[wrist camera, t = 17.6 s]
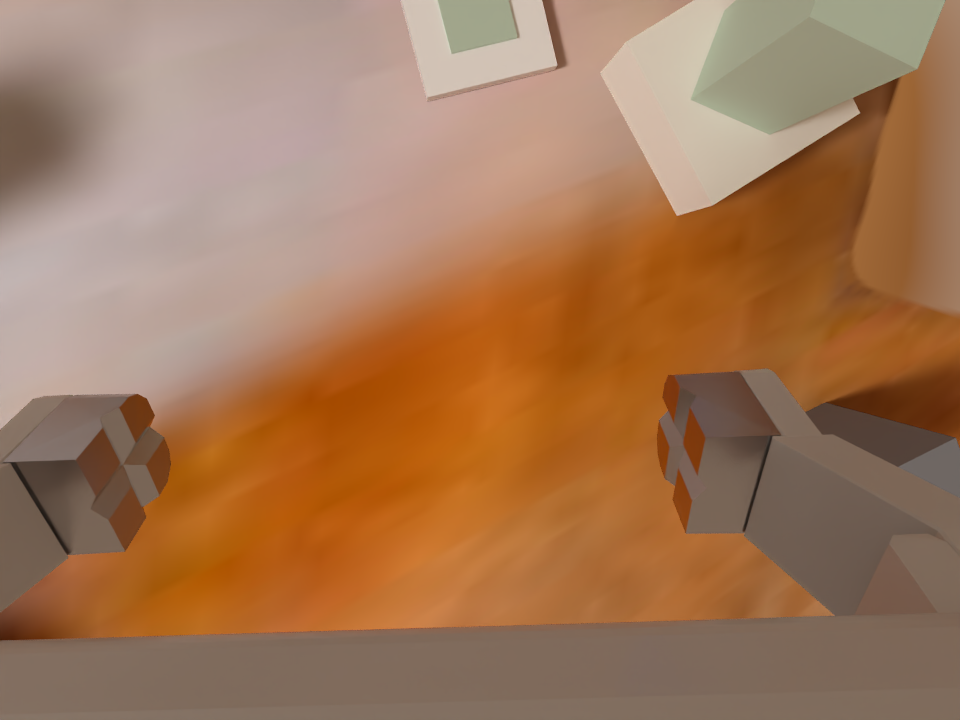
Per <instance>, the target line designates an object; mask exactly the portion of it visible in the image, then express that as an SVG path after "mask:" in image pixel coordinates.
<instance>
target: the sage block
mask: <svg viewBox="0 0 960 720" xmlns="http://www.w3.org/2000/svg"><path fill="white" fill-rule="evenodd" d="M944 3H945V0H735V1H734V2H733V3H732V4H731V5H730V6H729V7H728V8H727V9H726V10H724V13H723V16H722V18H721V21H720V23H719V26H718V29H717V31H716V34H715V37H714V39H713V42H712V44H711V47H710V50H709V52H708V55H707V58H706V60H705V63H704V66H703V68H702V71H701V73H700V76H699V79H698V81H697V84H696V87H695V89H694V92H693V94H692V97H691V100H693V101H695V102H697V103H699V104H702V105H704V106H706V107H708V108H711V109H713V110H715V111H717V112H720V113H722V114H724V115H726V116H729V117H731V118H733V119H735V120H738V121H740V122H742V123H744V124H747V125H749V126H751V127H753V128H756V129H758V130H760V131H762V132H765V133H767V134H769V135H770V134H772V133H774V132H777V131H779V130H781V129H783V128H786V127H788V126H790V125H792V124H795V123H797V122H799V121H801V120H804V119H806V118H808V117H811V116H813V115H815V114H817V113H820V112H822V111H824V110H826V109H829V108H831V107H833V106H835V105H838V104H840V103H842V102H844V101H847V100H849V99H851V98H853V97H856V96H858V95H860V94H862V93H865V92H867V91H869V90H871V89H874V88H876V87H878V86H880V85H883V84H885V83H887V82H890V81H892V80H894V79H896V78H899V77H901V76H903V75H905V74H908V73H910V72H912V71H914V70H917V69H918V67H919V65H920V62H921V59H922V57H923V55H924V52H925V50H926V47H927V45H928V42H929V40H930V37H931V35H932V32H933V30H934V27H935V25H936V22H937V20H938V18H939V15H940V13H941V10H942V8H943V5H944Z"/></svg>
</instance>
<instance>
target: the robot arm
mask: <svg viewBox="0 0 960 720" xmlns="http://www.w3.org/2000/svg"><path fill="white" fill-rule="evenodd" d="M663 400H664V402H665V404H666V406H667V409H668V411H667V413H666V414H665V415H664V416H663V417H662V418H661V419H660V420H659V424H658V433H657V448H658V457H659V462H660V467H661V469H662V472H663V475H664V478H665V479H666V480H668V481H669V482H670V483H672V484H673V485H674V486H675V489H674V495H673V502H674V504H675V507H676V510H677V512H678V515H679V517H680V520H681V523H682V525H683V528H684V530H685V533H686V534H692V533H745V534H744V536H745V537H746V538H747V539H748V540H749V541H750V542H752V543H753V544H754V545H755V546H756V547H757V548H758V549H760V550H761V551H762V552H763V553H764V554H765V555H766V556H768V557H769V558H770V559H771V560H772V561H773V562H774V563H776V564H777V565H778V566H779V567H780V568H781V569H782V570H784V571H785V572H786V573H787V574H788V575H789V576H790V577H792V578H793V579H794V580H795V581H796V582H797V583H798V584H800V585H801V586H802V587H803V588H804V589H805V590H806V591H808V592H809V593H810V594H811V595H812V596H813V597H814V598H816V599H817V600H818V601H819V602H820V603H821V604H822V605H824V606H825V607H826V608H827V609H828V610H829V611H830V612H832V613H833V614H834V615H835V616H814V617H780V618H747V619H715V620H683V621H650V622H616V623H581V624H546V625H511V626H477V627H442V628H408V629H375V630H342V631H309V632H275V633H242V634H209V635H176V636H142V637H109V638H75V639H42V640H9V641H0V720H960V498H958V497H956V496H954V495H952V494H951V493H949V492H947V491H945V490H943V489H941V488H939V487H937V486H935V485H933V484H931V483H929V482H927V481H925V480H923V479H921V478H919V477H917V476H915V475H913V474H911V473H909V472H907V471H905V470H903V469H901V468H899V467H897V466H895V465H893V464H891V463H889V462H887V461H885V460H883V459H881V458H879V457H877V456H875V455H873V454H871V453H869V452H867V451H865V450H863V449H861V448H859V447H857V446H855V445H853V444H851V443H849V442H847V441H845V440H843V439H841V438H839V437H837V436H835V435H833V434H830V435H822V434H821V432H820V431H819V430H818V429H817V427H816V426H815V425H814V423H813V422H812V421H811V419H810V418H809V417H808V416H807V414H806V413H805V412H804V410H803V409H802V408H801V406H800V405H799V404H798V403H797V401H796V400H795V399H794V397H793V396H792V395H791V393H790V392H789V391H788V389H787V388H786V387H785V386H784V384H783V383H782V382H781V380H780V379H779V378H778V376H777V375H776V374H775V373H774V372H773V371H771V370H769V369H757V370H742V371H734V372H719V373H700V374H680V375H668V377H667V379H666V382H665V385H664V391H663ZM154 416H155V415H154V413H153V411H152V409H151V407H150V404H149V402H148V400H147V399H146V398H144V397H142V396H140V395H138V394H100V395H74V396H73V395H57V396H43V397H39V398H35V399H33V400H31V401H30V402H29V403H28V404H27V405H26V406H25V407H24V408H23V409H22V410H21V411H20V412H19V413H18V414H17V415H15V416H14V417H13V418H12V419H11V420H10V421H9V422H8V423H7V424H6V425H5V426H4V427H3V428H2V429H1V430H0V612H1V611H3V610H4V609H5V608H6V607H8V606H9V605H10V604H11V603H13V602H14V601H15V600H16V599H18V598H19V597H20V596H21V595H23V594H24V593H25V592H26V591H28V590H29V589H30V588H31V587H33V586H34V585H35V584H36V583H38V582H39V581H40V580H41V579H43V578H44V577H45V576H46V575H48V574H49V573H50V572H51V571H53V570H54V569H55V568H56V567H58V566H59V565H60V564H61V563H63V562H64V561H65V560H66V559H68V555H77V554H93V553H110V552H125V551H126V549H127V548H128V546H129V545H130V543H131V541H132V540H133V538H134V536H135V535H136V533H137V532H138V530H139V528H140V527H141V525H142V523H143V522H144V520H145V519H146V515H145V512H144V508H143V507H144V506H145V505H146V504H148V503H149V502H151V501H152V500H154V499H155V498H157V497H158V496H160V494H161V492H162V490H163V489H164V487H165V485H166V483H167V482H168V476H169V471H170V466H171V461H170V453H169V449H168V446H167V444H166V441H165V439H164V437H163V436H161V435H160V434H159V433H157V432H156V431H155V430H153V429H152V428H151V427H150V425H151V423H152V421H153V419H154Z"/></svg>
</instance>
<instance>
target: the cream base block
mask: <svg viewBox="0 0 960 720" xmlns="http://www.w3.org/2000/svg"><path fill="white" fill-rule="evenodd" d="M734 1H735V0H694V1H692V2H690V3H689V4H687V5H685V6H684V7H682V8H681V9H679V10H677V11H676V12H674V13H672V14H671V15H669V16H668V17H666V18H664V19H663V20H661V21H659V22H658V23H656V24H654V25H653V26H651V27H650V28H648V29H646V30H645V31H643V32H641V33H640V34H638V35H637V36H635V37H633V38H632V39H630V40H628V41H627V42H626V43H625V44H624V45H623V46H622V47H621V49H620V50H619V51H618V52H617V53H616V55H615V56H614V57H613V58H612V59H611V61H610V62H609V63H608V64H607V65H606V67H605V68H604V69H603V70H602V71H601V73H600V74H601V76H602V77H603V79H604V81H605V83H606V85H607V87H608V89H609V90H610V92H611V94H612V96H613V98H614V100H615V102H616V103H617V105H618V107H619V109H620V111H621V113H622V115H623V116H624V118H625V120H626V122H627V124H628V126H629V128H630V129H631V131H632V133H633V135H634V137H635V139H636V141H637V142H638V144H639V146H640V148H641V150H642V152H643V154H644V155H645V157H646V159H647V161H648V163H649V165H650V167H651V168H652V170H653V172H654V174H655V176H656V178H657V180H658V181H659V183H660V185H661V187H662V189H663V191H664V193H665V195H666V196H667V198H668V200H669V202H670V204H671V206H672V208H673V209H674V211H675V213H676V215H677V216H678V215H681V214H685V213H688V212H692V211H695V210H699V209H702V208H706V207H709V206H712V205H714V204H716V203H717V202H719V201H720V200H722V199H724V198H725V197H727V196H728V195H730V194H732V193H733V192H735V191H736V190H738V189H740V188H741V187H743V186H744V185H746V184H748V183H749V182H751V181H752V180H754V179H756V178H757V177H759V176H760V175H762V174H764V173H765V172H767V171H768V170H770V169H772V168H773V167H775V166H776V165H778V164H780V163H781V162H783V161H784V160H786V159H788V158H789V157H791V156H792V155H794V154H796V153H797V152H799V151H800V150H802V149H804V148H805V147H807V146H808V145H810V144H812V143H813V142H815V141H816V140H818V139H820V138H821V137H823V136H824V135H826V134H828V133H829V132H831V131H832V130H834V129H836V128H837V127H839V126H840V125H842V124H844V123H845V122H847V121H848V120H850V119H852V118H853V117H855V116H856V115H858V114H860V112H859V110H858V108H857V106H856V103H855V101H854V99H853V98H851V99H849V100H847V101H844V102H842V103H840V104H838V105H835V106H833V107H831V108H829V109H826V110H824V111H822V112H820V113H817V114H815V115H813V116H811V117H808V118H806V119H804V120H801V121H799V122H797V123H795V124H792V125H790V126H788V127H786V128H783V129H781V130H779V131H777V132H774V133H772V134H770V135H769V134H767V133H765V132H762V131H760V130H758V129H756V128H753V127H751V126H749V125H747V124H744V123H742V122H740V121H738V120H735V119H733V118H731V117H729V116H726V115H724V114H722V113H720V112H717V111H715V110H713V109H711V108H708V107H706V106H704V105H702V104H699V103H697V102H695V101H693V100H691V97H692V94H693V92H694V89H695V87H696V84H697V81H698V79H699V76H700V73H701V71H702V68H703V66H704V63H705V60H706V58H707V55H708V52H709V50H710V47H711V44H712V42H713V39H714V37H715V34H716V31H717V29H718V26H719V23H720V21H721V18H722V16H723V13H724V10H726V9H727V8H728V7H729V6H730V5H731V4H732V3H733V2H734Z"/></svg>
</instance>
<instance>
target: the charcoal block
mask: <svg viewBox="0 0 960 720" xmlns="http://www.w3.org/2000/svg"><path fill="white" fill-rule="evenodd" d="M805 413H806V414H807V416H808V417H809V418H810V419H811V421H812V422H813V423H814V425H815V426H816V427H817V429H818V430H819V431H820V432H821V434H822V435H830V434H833V435H835V436H837V437H839V438H841V439H843V440H845V441H847V442H849V443H851V444H853V445H855V446H857V447H859V448H861V449H863V450H865V451H867V452H869V453H871V454H873V455H875V456H877V457H879V458H881V459H883V460H885V461H887V462H889V463H891V464H893V465H895V466H897V467H899V468H901V469H903V470H905V471H907V472H909V473H911V474H913V475H915V476H917V477H919V478H921V479H923V480H925V481H927V482H929V483H931V484H933V485H935V486H937V487H939V488H941V489H943V490H945V491H947V492H949V493H951V494H952V495H954V496H956V497H958V498H960V449H959V446H958V443H957V440H956V438H955V437H951V436H947V435H943V434H940V433H936V432H932V431H929V430H925V429H921V428H918V427H914V426H910V425H907V424H903V423H899V422H895V421H892V420H888V419H884V418H881V417H877V416H873V415H870V414H866V413H862V412H858V411H855V410H851V409H847V408H844V407H840V406H836V405H833V404H829V403H823V404H821V405H819V406H817V407H815V408H813V409H811V410H809V411H807V412H805Z"/></svg>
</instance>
